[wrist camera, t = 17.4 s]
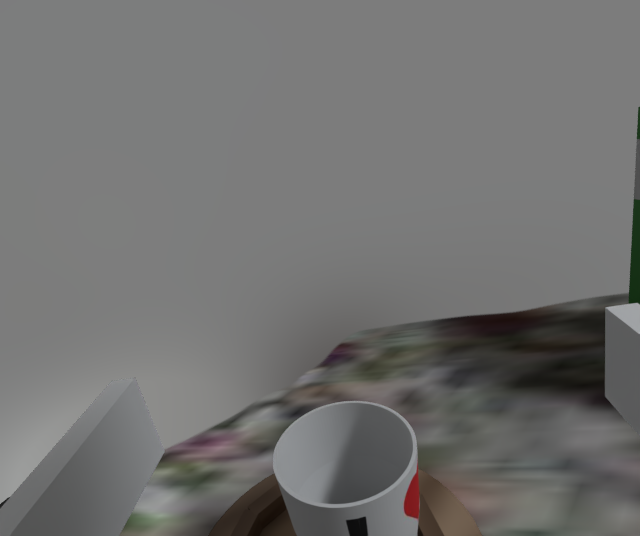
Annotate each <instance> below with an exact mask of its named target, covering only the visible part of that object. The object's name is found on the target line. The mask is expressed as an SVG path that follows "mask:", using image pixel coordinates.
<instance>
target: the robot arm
mask: <svg viewBox="0 0 640 536" xmlns="http://www.w3.org/2000/svg"><path fill="white" fill-rule="evenodd" d="M605 397H606V398H607V399H608V401H609V402H610V403H611V404H612V405H613V406H614V407H615V408H616V410H617V411H618V412H619V413H620V414H621V415H622V416H623V418H624V419H625V420H626V421H627V422H628V423H629V424H630V426H631V427H632V428H633V429H634V430H635V431H636V432H637V434H638V435H639V436H640V304H638V303H632V304H626V305H619V306H612V307H605ZM164 452H165V450H164V448H163V445H162V443H161V441H160V438H159V435H158V433H157V430H156V428H155V426H154V423H153V421H152V418H151V415H150V413H149V410H148V408H147V406H146V403H145V401H144V398H143V396H142V393H141V391H140V388H139V386H138V383H137V381H136V378H129V379H122V380H115V381H111V382H110V383H109V385H108V386H107V387H106V388H105V389H104V390H103V391H102V393H101V394H100V395H99V396H98V397H97V399H95V401H94V402H93V403H92V404H91V405H90V406H89V407H88V409H87V410H86V411H85V412H84V413H83V414H82V415H81V417H80V418H79V419H78V420H77V421H76V422H75V424H74V425H73V426H72V427H71V428H70V430H68V432H67V433H66V434H65V435H64V436H63V437H62V439H61V440H60V441H59V442H58V443H57V444H56V445H55V446H54V448H53V449H52V450H51V451H50V452H49V453H48V455H47V456H46V457H45V458H44V459H43V460H42V461H41V462H40V464H39V465H38V466H37V467H36V468H35V470H33V472H32V473H31V474H30V475H29V476H28V477H27V479H26V480H25V481H24V482H23V483H22V484H21V485H20V487H19V488H18V489H17V490H16V491H15V492H14V494H13V495H12V496H11V497H9V498H7V499H6V500H5V501H4V502H2V503H1V504H0V536H119V535H120V533H121V531H122V529H123V527H124V526H125V524H126V522H127V520H128V518H129V516H130V514H131V513H132V511H133V509H134V507H135V505H136V503H137V502H138V500H139V498H140V496H141V494H142V492H143V490H144V489H145V487H146V485H147V483H148V481H149V479H150V477H151V476H152V474H153V472H154V470H155V468H156V466H157V465H158V463H159V461H160V459H161V457H162V455H163V453H164Z"/></svg>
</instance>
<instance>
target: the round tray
mask: <svg viewBox="0 0 640 536" xmlns="http://www.w3.org/2000/svg"><path fill="white" fill-rule="evenodd" d="M418 478H419V498H420V510H419V521H418V532H417V536H482V534H481V532H480V530H479V528H478V527H477V525H476V523H475V521H474V519H473V518H472V516H471V515H470V514H469V512H468V511H467V510H466V508H465V507H464V505H463V504H462V503H461V502H460V501H459V500H458V499H457V498H456V497H455V496H454V494H453V493H452V492H451V491H450V490H448V489H447V488H446V487H445V486H444V485H442V484H441V483H440V482H439V481H437V480H436V479H434V478H433V477H431V476H430V475H428V474H427V473H425V472H424V471H422V470H420V469H418ZM208 536H297V535H296V533H295V530H294V528H293V525H292V522H291V519H290V516H289V513H288V510H287V507H286V505H285V502H284V499H283V496H282V493H281V490H280V487H279V484H278V481H277V479H276V476H275V473H274V474H272V475H271V476H269V477H267V478H265V479H264V480H262V481H261V482H260V483H258V484H257V485H255V486H254V487H252V488H251V489H250V490H249V491H247V492H246V493H245V494H244V495H243V496H241V497H240V498H239V499H238V500H237V501H236V502H235V503H234V504H233V505H232V506H231V507H230V508H229V509H228V510H227V511H226V512H225V514H224V515H223V516H222V517H221V519H220V520H219V521H218V522H217V523H216V525H215V526H214V528H213V529H212V531H211V532H210V534H209V535H208Z"/></svg>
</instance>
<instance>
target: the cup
mask: <svg viewBox="0 0 640 536" xmlns="http://www.w3.org/2000/svg"><path fill="white" fill-rule="evenodd" d="M273 468H274V473H275V476H276V479H277V481H278V484H279V487H280V490H281V493H282V496H283V499H284V502H285V505H286V507H287V510H288V513H289V516H290V519H291V522H292V525H293V528H294V530H295V533H296V535H297V536H417V532H418V521H419V510H420V498H419V478H418V459H417V442H416V437H415V434H414V431H413V429H412V428H411V426H410V425H409V423H408V422H407V421H406V420H405V419H404V418H403V417H402V416H401V415H400V414H398V413H397V412H395V411H394V410H392V409H390V408H388V407H385V406H383V405H380V404H376V403H371V402H365V401H345V402H338V403H333V404H329V405H325V406H322V407H319V408H317V409H315V410H312V411H310V412H308V413H307V414H305V415H303V416H302V417H300V418H299V419H297V420H296V421H295V422H294V423H292V424H291V425H290V426H289V427H288V428H287V429H286V431H285V432H284V433H283V434H282V436H281V437H280V439H279V441H278V443H277V445H276V447H275V451H274V455H273Z"/></svg>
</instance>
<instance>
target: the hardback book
mask: <svg viewBox="0 0 640 536" xmlns="http://www.w3.org/2000/svg"><path fill="white" fill-rule="evenodd" d="M635 169H636V170H635V188H634V208H633V228H632V248H631V267H630V286H629V287H630V288H629V304H632V303H638V304H640V107H639V110H638V129H637V149H636V168H635Z"/></svg>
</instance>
